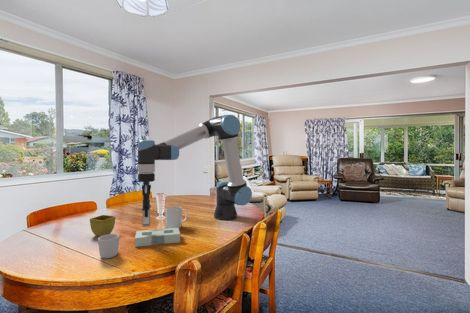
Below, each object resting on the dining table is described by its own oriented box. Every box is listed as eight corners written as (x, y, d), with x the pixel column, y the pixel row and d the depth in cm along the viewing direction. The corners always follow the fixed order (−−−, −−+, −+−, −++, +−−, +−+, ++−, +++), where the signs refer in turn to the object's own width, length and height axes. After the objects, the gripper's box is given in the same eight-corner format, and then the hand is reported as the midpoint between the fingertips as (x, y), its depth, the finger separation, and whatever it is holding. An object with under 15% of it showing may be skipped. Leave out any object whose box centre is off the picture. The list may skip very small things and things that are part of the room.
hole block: (178, 235, 129) (178, 227, 129) (180, 242, 120) (180, 233, 120) (136, 239, 124) (136, 231, 123) (134, 246, 114) (134, 238, 114)
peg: (150, 224, 122) (150, 199, 122) (149, 226, 119) (149, 200, 119) (143, 224, 121) (142, 199, 121) (142, 226, 118) (142, 201, 118)
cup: (106, 249, 111) (105, 231, 110) (124, 249, 111) (124, 231, 111) (94, 260, 100) (94, 240, 100) (115, 259, 101) (115, 240, 100)
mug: (167, 231, 136) (167, 210, 136) (164, 226, 144) (164, 207, 144) (189, 228, 141) (189, 208, 141) (184, 223, 149) (184, 205, 149)
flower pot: (116, 233, 133) (116, 216, 132) (102, 238, 124) (102, 220, 124) (103, 231, 136) (103, 214, 135) (89, 236, 127) (88, 218, 127)
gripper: (139, 171, 126) (139, 218, 127) (136, 174, 110) (136, 228, 111) (154, 171, 128) (155, 217, 129) (154, 174, 113) (154, 226, 113)
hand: (146, 222), depth 120 cm, fingers closed on peg, 3 cm apart
